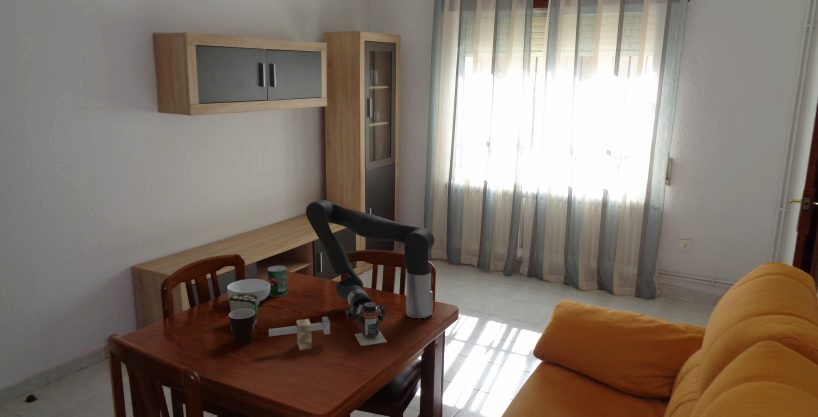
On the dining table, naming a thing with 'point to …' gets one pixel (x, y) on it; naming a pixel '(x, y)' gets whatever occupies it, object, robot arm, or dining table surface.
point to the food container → (244, 302)
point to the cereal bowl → (250, 287)
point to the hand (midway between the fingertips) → (371, 319)
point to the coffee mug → (242, 326)
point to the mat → (370, 339)
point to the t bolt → (294, 329)
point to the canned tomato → (277, 280)
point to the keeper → (304, 334)
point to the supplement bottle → (370, 320)
